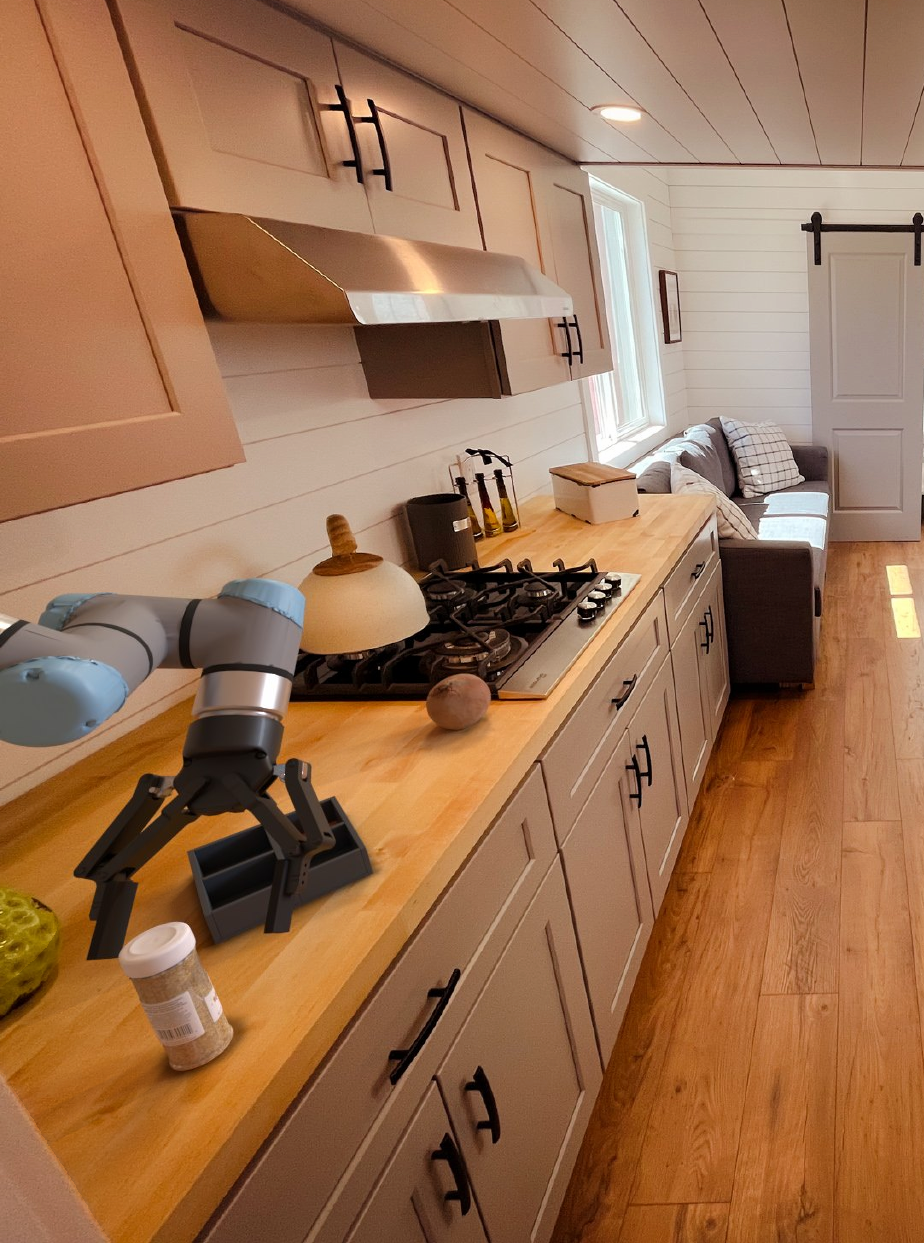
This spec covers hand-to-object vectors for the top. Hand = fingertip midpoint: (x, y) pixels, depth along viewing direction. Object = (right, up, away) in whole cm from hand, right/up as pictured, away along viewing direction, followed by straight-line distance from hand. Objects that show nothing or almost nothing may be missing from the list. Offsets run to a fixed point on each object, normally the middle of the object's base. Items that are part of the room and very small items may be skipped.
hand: (191, 946), depth 65 cm
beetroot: (-7, +10, +55) cm, 56 cm away
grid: (-9, -2, +21) cm, 23 cm away
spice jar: (0, -10, +1) cm, 10 cm away
